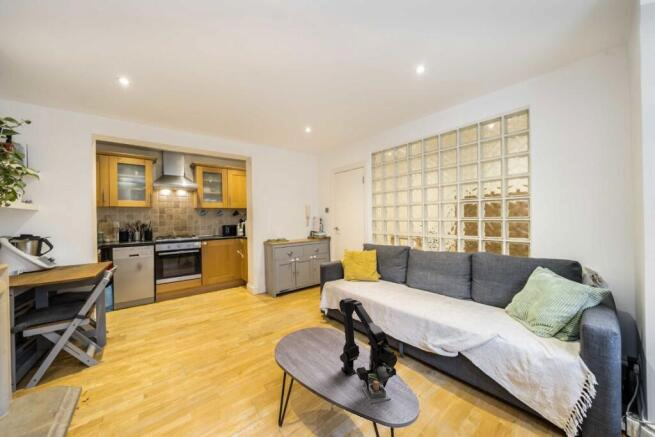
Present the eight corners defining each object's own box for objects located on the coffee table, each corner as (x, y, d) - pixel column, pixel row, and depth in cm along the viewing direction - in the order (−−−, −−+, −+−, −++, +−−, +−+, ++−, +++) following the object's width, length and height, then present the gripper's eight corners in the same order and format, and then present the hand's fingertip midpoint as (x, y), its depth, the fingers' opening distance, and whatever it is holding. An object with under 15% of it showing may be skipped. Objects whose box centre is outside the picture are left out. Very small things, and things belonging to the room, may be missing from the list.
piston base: (362, 388, 123) (362, 377, 123) (380, 385, 126) (380, 374, 126) (370, 403, 114) (370, 391, 114) (390, 399, 116) (390, 387, 116)
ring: (366, 389, 122) (366, 384, 122) (379, 386, 124) (379, 382, 124) (372, 399, 115) (372, 394, 115) (385, 396, 117) (385, 391, 117)
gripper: (365, 369, 110) (364, 404, 110) (402, 363, 114) (402, 397, 114) (356, 355, 120) (355, 387, 120) (390, 351, 125) (390, 381, 125)
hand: (375, 388), depth 120 cm, fingers open, 8 cm apart
